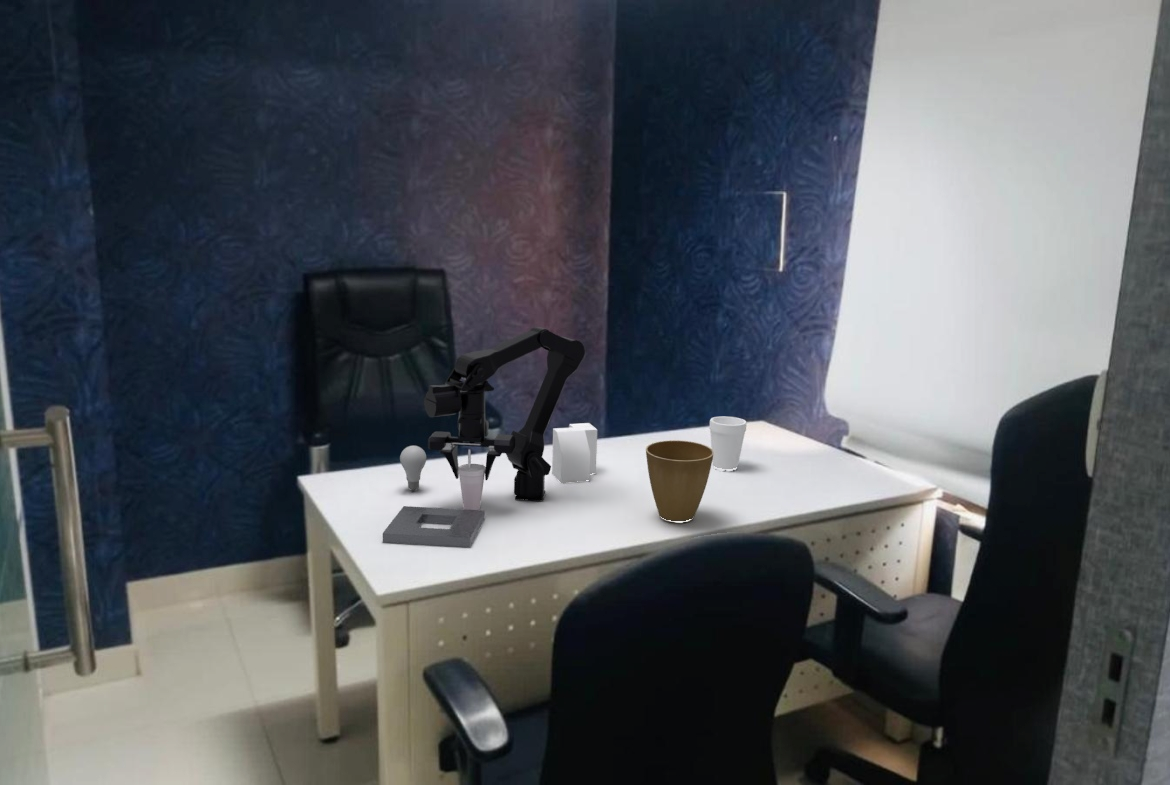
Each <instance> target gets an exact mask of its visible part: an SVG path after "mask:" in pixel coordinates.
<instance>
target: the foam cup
mask: <svg viewBox="0 0 1170 785" xmlns="http://www.w3.org/2000/svg"><path fill="white" fill-rule="evenodd" d="M709 431H710V443H711V447H710V448H711V449H712V450H713V451H714V455H713V460H712V467H713V466H715V467H717V468H722V469H733V468H736V467H737V466H738V467H739V461H740V459H741V458H740V457H741V452H742V449H743V443H744V439H745V434H746V431H747V421H746V420H745V419H743V418H739V417H736V416H723V415H722V416H714V417H711V418H710V420H709ZM738 467H737V468H738Z"/></svg>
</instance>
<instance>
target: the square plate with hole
mask: <svg viewBox="0 0 1170 785" xmlns="http://www.w3.org/2000/svg"><path fill="white" fill-rule="evenodd" d="M485 513H486V512H485V509H484V510H466V509H464V508H446V507H444V508H443V507H428V506H427V507H426V506H412V505H410V506H408V505H407V506H406V505H405V506H403V507H402V508H401V509H400V510H399V511H398V513H397V514H396V515H395V517H394V518H393V519H392V520H391V522H390V523H389V524H388V526H387V527H386V528H385V529H384V531H383V532H382V543H386V544H398V545H399V544H401V545H417V544H421V545H420V546H437V547H439V546H440V547H451V548H452V547H453V548H455V547H456V548H471V547H472V545H473V543H474V540H475V539H476V537H477V535H478V533H479V531H480V529H481V527H482V525H483V523H484V521H485ZM423 524H437V525H450V528H439V527H438V528H436V527H435V528H434V527H421V526H422V525H423Z"/></svg>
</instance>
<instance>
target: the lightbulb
mask: <svg viewBox="0 0 1170 785" xmlns="http://www.w3.org/2000/svg"><path fill="white" fill-rule="evenodd" d="M399 460H400V461H399V462H400V465H401V467H402V468H403V470H404V473H405V475H406V480H407V488H408V489H409V490H411V491H416V490H418V489H419V488H420V480H421V474H422V471H423V469H424V467H425V465H426V462H427V455H426V452H425V450H424V449H423V448H422V447H420V446H418V445H409V446H406V447H405V448H403V450H402V451H401V453H400V456H399Z"/></svg>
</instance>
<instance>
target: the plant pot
mask: <svg viewBox="0 0 1170 785" xmlns="http://www.w3.org/2000/svg"><path fill="white" fill-rule="evenodd" d="M645 455H646V464H647V470H648V478H649V483H650V487H651V491H652V496H653V499H654V502H655V506H656V509H657V513H658V515H659V517H660V516H661V517H662V518H664V519H666V520H671V521H686V520H689V519H692V518H693V517H695V515H696V513H697V511H698V510H699V507H700V504H701V501H702V498H703V496H704V493H705V490H706V486H707V484H708V481H709V478H710V477H709V476H710V473H711V469H712V465H713V461H712V460H713V455H714V451H713V450H712V447H710V446H708V445H705V444H702V443H700V442H695V441H688V440H679V439H678V440H676V439H674V440H671V439H670V440H661V441H655V442H652V443H650V444H648V445H647V446H646V448H645ZM693 519H694V518H693Z"/></svg>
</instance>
